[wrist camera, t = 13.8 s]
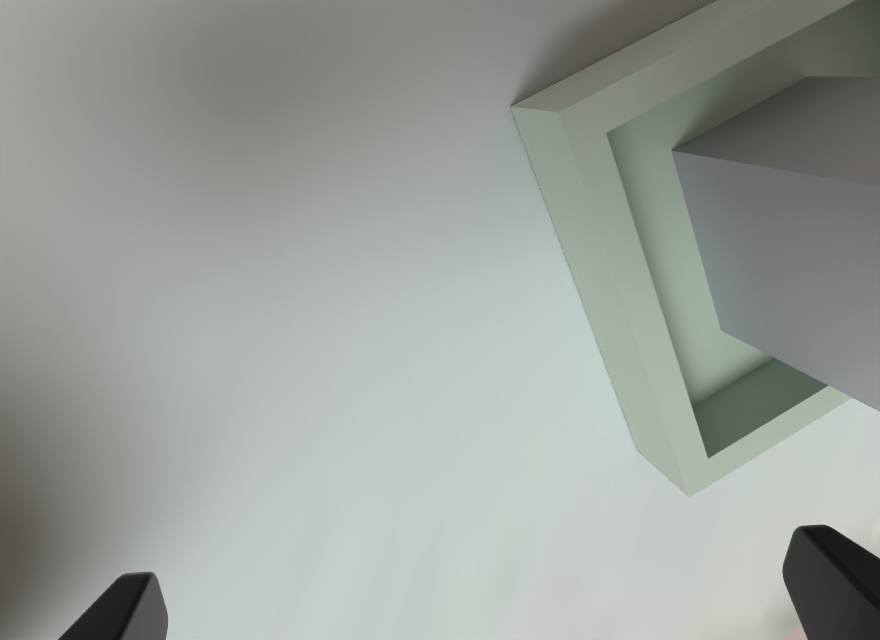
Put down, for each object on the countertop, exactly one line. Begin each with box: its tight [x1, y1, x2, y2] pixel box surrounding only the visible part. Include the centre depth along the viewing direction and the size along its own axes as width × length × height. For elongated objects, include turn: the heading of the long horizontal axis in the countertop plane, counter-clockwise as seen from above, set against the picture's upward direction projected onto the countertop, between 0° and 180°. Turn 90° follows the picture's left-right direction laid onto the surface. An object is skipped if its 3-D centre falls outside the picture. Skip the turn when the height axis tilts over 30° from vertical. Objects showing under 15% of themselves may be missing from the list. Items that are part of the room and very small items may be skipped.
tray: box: [510, 0, 880, 497], centre depth 21 cm, size 13×13×3 cm
